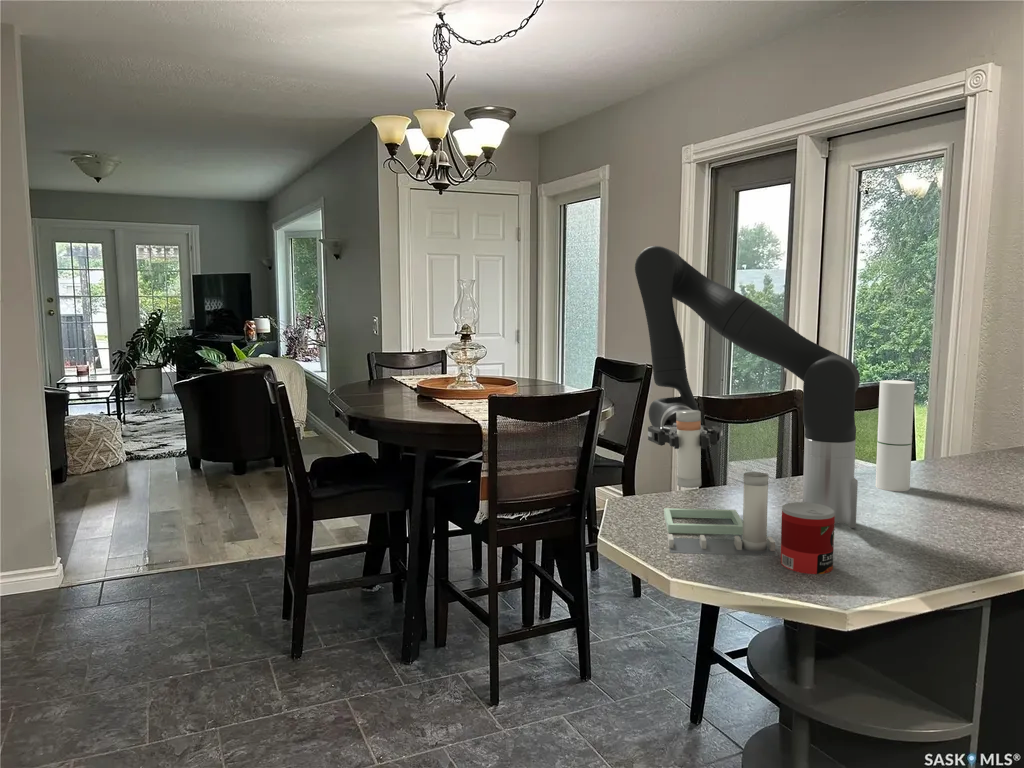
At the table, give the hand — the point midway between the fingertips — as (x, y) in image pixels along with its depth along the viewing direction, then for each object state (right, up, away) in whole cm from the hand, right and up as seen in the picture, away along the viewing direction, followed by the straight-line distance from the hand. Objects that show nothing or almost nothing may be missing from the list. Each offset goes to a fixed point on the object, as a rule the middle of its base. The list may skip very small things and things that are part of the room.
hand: (690, 442), depth 125 cm
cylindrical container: (+59, -14, +47) cm, 77 cm away
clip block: (+6, -20, +4) cm, 21 cm away
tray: (+6, -19, +17) cm, 26 cm away
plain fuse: (+12, -19, +3) cm, 22 cm away
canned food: (+18, -21, -5) cm, 28 cm away
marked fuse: (+1, -8, +4) cm, 8 cm away
